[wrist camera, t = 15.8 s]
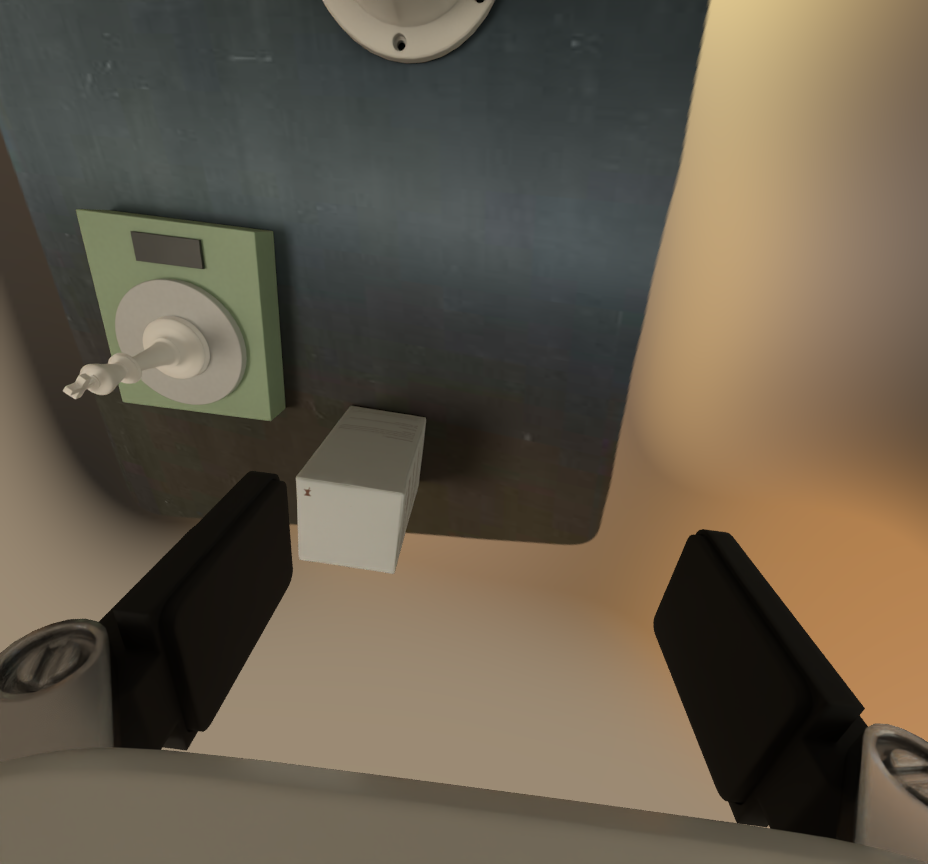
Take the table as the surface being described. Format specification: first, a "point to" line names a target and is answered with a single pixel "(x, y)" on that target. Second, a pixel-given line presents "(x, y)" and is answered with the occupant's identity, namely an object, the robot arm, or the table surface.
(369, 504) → the white packaging box
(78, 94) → the table surface
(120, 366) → the chess piece
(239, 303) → the scale
